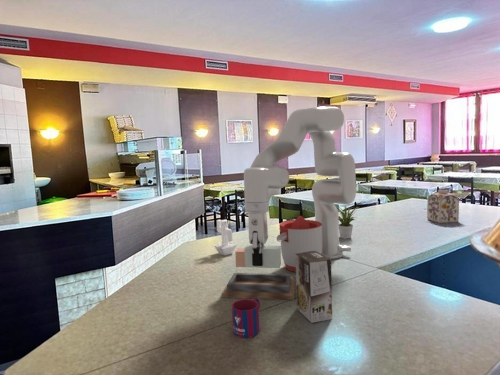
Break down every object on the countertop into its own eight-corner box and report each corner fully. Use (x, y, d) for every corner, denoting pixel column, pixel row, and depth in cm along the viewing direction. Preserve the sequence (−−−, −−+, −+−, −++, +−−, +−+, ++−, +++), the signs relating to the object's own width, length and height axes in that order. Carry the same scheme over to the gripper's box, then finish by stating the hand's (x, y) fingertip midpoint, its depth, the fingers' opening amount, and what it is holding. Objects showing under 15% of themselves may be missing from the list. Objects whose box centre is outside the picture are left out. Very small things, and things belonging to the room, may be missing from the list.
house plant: (351, 232, 177) (350, 201, 175) (368, 238, 164) (367, 205, 162) (327, 235, 173) (326, 203, 171) (342, 241, 160) (342, 207, 158)
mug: (227, 333, 83) (226, 306, 83) (251, 316, 91) (250, 292, 91) (249, 341, 79) (247, 313, 79) (271, 322, 87) (271, 297, 87)
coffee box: (333, 319, 88) (332, 259, 86) (311, 323, 86) (309, 262, 84) (316, 304, 96) (315, 249, 95) (296, 308, 95) (294, 252, 93)
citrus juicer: (269, 266, 130) (267, 215, 128) (307, 258, 137) (306, 210, 135) (289, 279, 116) (288, 222, 114) (331, 270, 123) (330, 216, 120)
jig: (295, 281, 114) (295, 272, 113) (293, 299, 100) (293, 289, 100) (232, 279, 118) (231, 270, 117) (221, 297, 104) (221, 287, 104)
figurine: (224, 257, 143) (223, 223, 141) (213, 253, 150) (211, 220, 149) (238, 253, 147) (236, 220, 146) (226, 249, 155) (224, 217, 153)
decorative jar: (426, 219, 199) (427, 189, 198) (444, 218, 201) (445, 188, 199) (440, 223, 188) (440, 191, 186) (459, 222, 189) (460, 190, 187)
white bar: (280, 263, 109) (280, 245, 108) (279, 268, 105) (279, 249, 104) (238, 262, 111) (237, 245, 111) (235, 266, 107) (235, 248, 107)
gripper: (265, 211, 97) (267, 272, 99) (271, 202, 114) (273, 255, 115) (239, 211, 98) (242, 272, 100) (249, 202, 115) (251, 255, 117)
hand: (258, 262), depth 108 cm, fingers closed on white bar, 4 cm apart
